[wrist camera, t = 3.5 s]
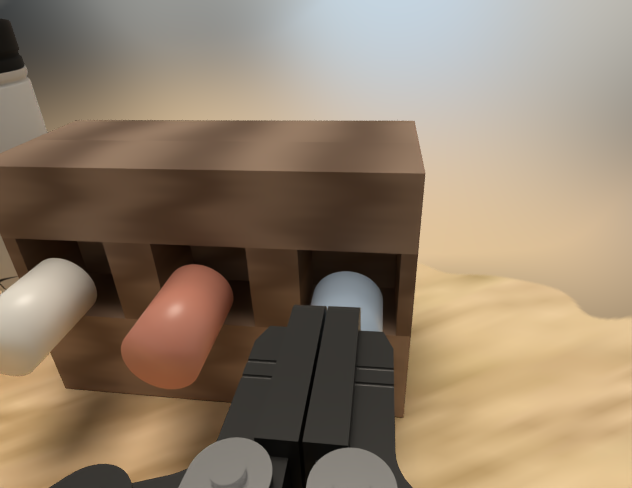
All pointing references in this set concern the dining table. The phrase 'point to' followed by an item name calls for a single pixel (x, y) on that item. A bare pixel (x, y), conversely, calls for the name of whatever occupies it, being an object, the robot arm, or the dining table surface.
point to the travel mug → (14, 119)
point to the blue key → (352, 297)
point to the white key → (41, 313)
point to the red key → (178, 328)
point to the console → (215, 228)
